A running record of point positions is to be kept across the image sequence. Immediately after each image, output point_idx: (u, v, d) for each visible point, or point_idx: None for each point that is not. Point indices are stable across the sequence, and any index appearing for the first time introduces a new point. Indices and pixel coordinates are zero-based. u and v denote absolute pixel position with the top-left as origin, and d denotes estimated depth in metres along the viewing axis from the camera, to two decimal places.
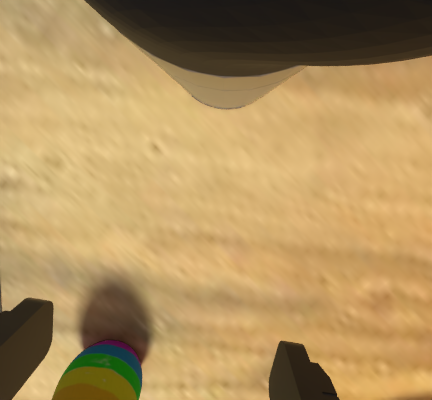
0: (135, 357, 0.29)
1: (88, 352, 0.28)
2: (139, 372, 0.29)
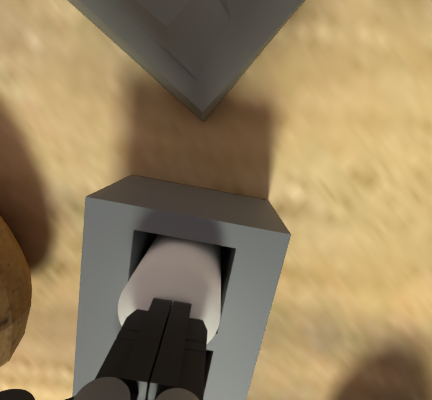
0: None
1: None
2: None
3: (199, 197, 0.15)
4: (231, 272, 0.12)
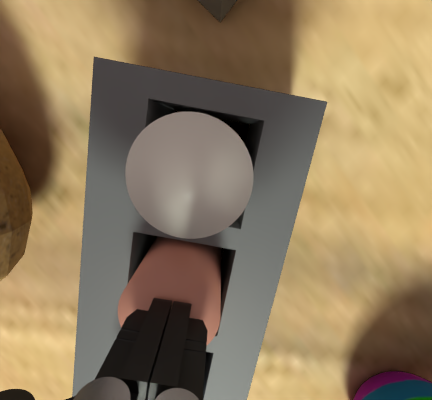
0: None
1: (408, 394, 0.17)
2: None
3: None
4: (258, 152, 0.11)
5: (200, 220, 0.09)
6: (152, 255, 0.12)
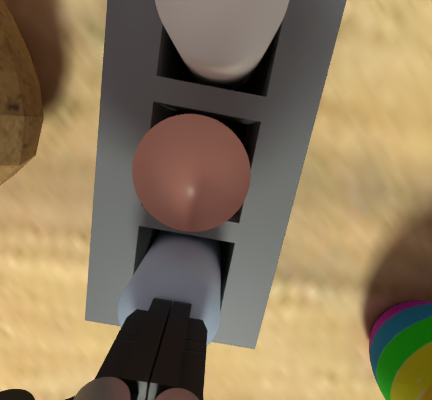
0: None
1: (431, 313, 0.17)
2: None
3: None
4: None
5: (232, 39, 0.08)
6: None
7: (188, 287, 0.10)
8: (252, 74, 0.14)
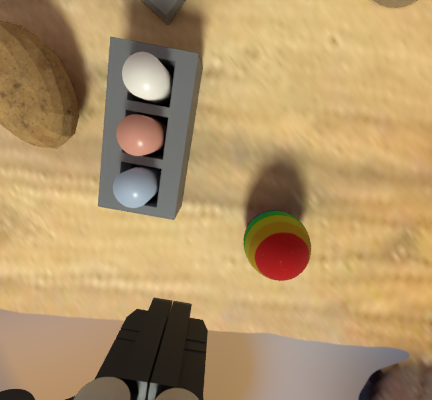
0: None
1: (267, 212, 0.34)
2: None
3: None
4: (174, 74, 0.28)
5: (147, 90, 0.26)
6: None
7: (138, 177, 0.28)
8: (170, 97, 0.31)
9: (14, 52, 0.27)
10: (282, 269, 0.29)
